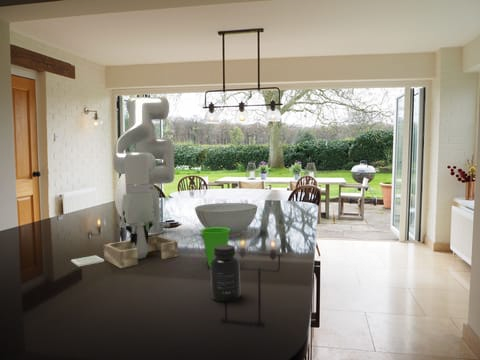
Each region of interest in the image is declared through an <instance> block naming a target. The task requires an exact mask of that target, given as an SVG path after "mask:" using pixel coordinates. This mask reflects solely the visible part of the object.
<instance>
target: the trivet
mask: <svg viewBox="0 0 480 360" xmlns="http://www.w3.org/2000/svg"><path fill="white" fill-rule="evenodd" d="M70 262H72V263H73V264H74V265H76V266H77V267H83V266H90V265H94V264H95V265H96V264H99V263H103V262H105V260H104V258H102V257H99V256H98V255H91V256H85V257H79V258H74V259H71V260H70Z"/></svg>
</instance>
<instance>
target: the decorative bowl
mask: <svg viewBox="0 0 480 360" xmlns="http://www.w3.org/2000/svg"><path fill="white" fill-rule="evenodd" d="M258 207H259V206H258V205H257V204H253V203H247V202H245V203H244V202H222V203H221V202H220V203H219V202H218V203H217V202H216V203H208V204H207V203H206V204H201V205H198V206H197V205H196V206H195V207H194V211H195V214H196V216H197V219H198V220H199V222H200V223H201V225H202V226H203V227H204V229H205V228H211V227H225V228H229V229H230V231H229V238H234V237H238V236H240V235H242V232H244V231H245V230H246V229H247V228H249V226H250V225H251V224H252V223H253V222H254V219H255V217H256V215H257V212H258Z"/></svg>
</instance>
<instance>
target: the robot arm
mask: <svg viewBox="0 0 480 360" xmlns="http://www.w3.org/2000/svg"><path fill="white" fill-rule="evenodd" d="M125 105H126V110H127V113H128V129H127V130H126V131H124V132H123V133H122V134H121V135H120V136H119V137H118V139H117V140H116V142H115V144H114V149H113V160H112V162H113V163H112V165H113V169H114V171H115V172H116V173H117V174H120V175H121V174H125V183H126V194H123V200H122V213H121V216H120V217H121V219H120V223H119V225H118V226H119V227H120V228H122V229H125V230H126V231H127V232H128V233H129V240H130V241H131V243H134V242H135V245H136V244H137V234H136V232H135V229H136V224H138V223H140V222H144V223H145V226H144V231H145V238H146V242H147V243H148V237H152V236H159V235H162V234H163V233H165V231H164V228H168V227H169V228H170V226H171V223H170V222H162V221H161V215H160V213H161V212H160V211H161V210H160V193H159V191H158V190H157V188H156V187H154V185H157V184H158V185H159V184H160V185H162V184H171V183H172V182H174V180H175V155H174V154H175V152H174V151H175V150H174V144H173V141H172V139H171V138H169V137H157V136H156V126H155V124H154V122H153V120H155V121H156V120H166V119H167V118H168V116H169V114H170V102H169V101H168V98H166V97H164V96H134V97H130V98H128V99H127V100H126V103H125ZM133 145H135V150H136V151H135V152H133V151H132V152H125V151H126V149H128V148H129V147H132V146H133ZM157 160H162V161H159V162H158V161H157ZM126 223H127V224H129V226H127V225H126Z"/></svg>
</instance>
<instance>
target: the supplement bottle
mask: <svg viewBox="0 0 480 360" xmlns="http://www.w3.org/2000/svg"><path fill="white" fill-rule="evenodd" d="M214 256H215V258H213V259H212V261H211V267H210V285H211V286H210V287H211V289H210V292H211V298H212V299H213V300H214V301H216V302H220V303H229V302H234V301H236V300H238V299H239V298H240V297H241V269H240V268H241V267H240V266H241V264H240V260H239V258H238V257H236V249H235V246H234V245H232V244H228V245H219V246H216V247H214Z"/></svg>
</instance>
